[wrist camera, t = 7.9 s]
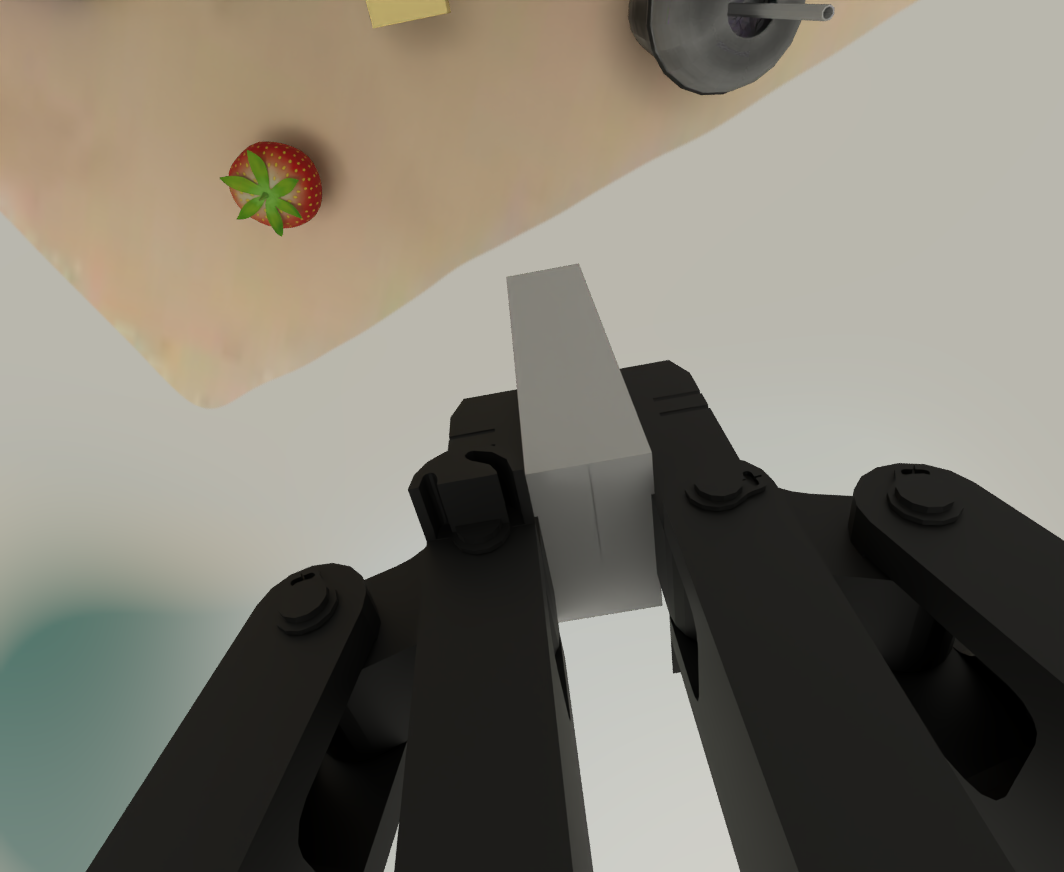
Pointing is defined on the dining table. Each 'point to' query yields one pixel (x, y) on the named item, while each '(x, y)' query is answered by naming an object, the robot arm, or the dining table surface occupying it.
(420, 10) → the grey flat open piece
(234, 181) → the fruit
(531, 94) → the dining table surface
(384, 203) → the dining table surface
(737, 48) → the beverage cup
